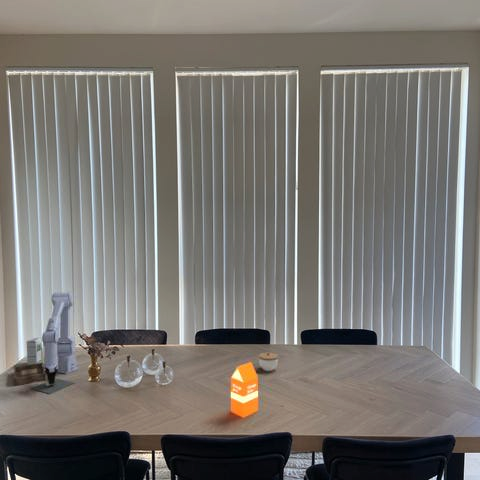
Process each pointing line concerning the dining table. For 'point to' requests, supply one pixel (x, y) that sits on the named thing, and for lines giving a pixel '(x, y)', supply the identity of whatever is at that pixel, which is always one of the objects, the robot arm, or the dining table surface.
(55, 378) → the birch block
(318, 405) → the dining table surface
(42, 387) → the rubber mat
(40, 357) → the syrup box
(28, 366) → the walnut crate
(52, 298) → the robot arm
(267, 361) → the lidded jar
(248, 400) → the orange juice
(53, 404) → the dining table surface
